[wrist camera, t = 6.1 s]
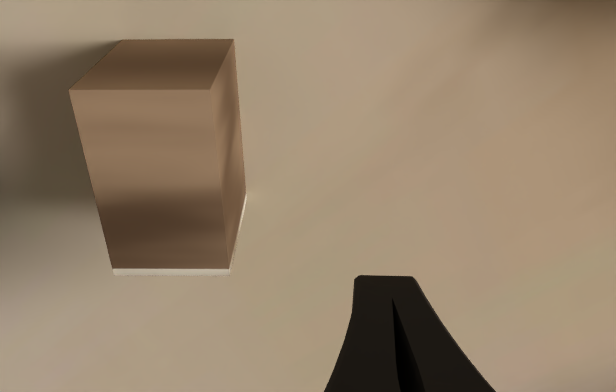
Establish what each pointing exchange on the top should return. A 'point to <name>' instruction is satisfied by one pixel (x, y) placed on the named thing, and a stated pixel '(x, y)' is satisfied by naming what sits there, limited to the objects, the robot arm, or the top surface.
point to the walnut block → (165, 154)
